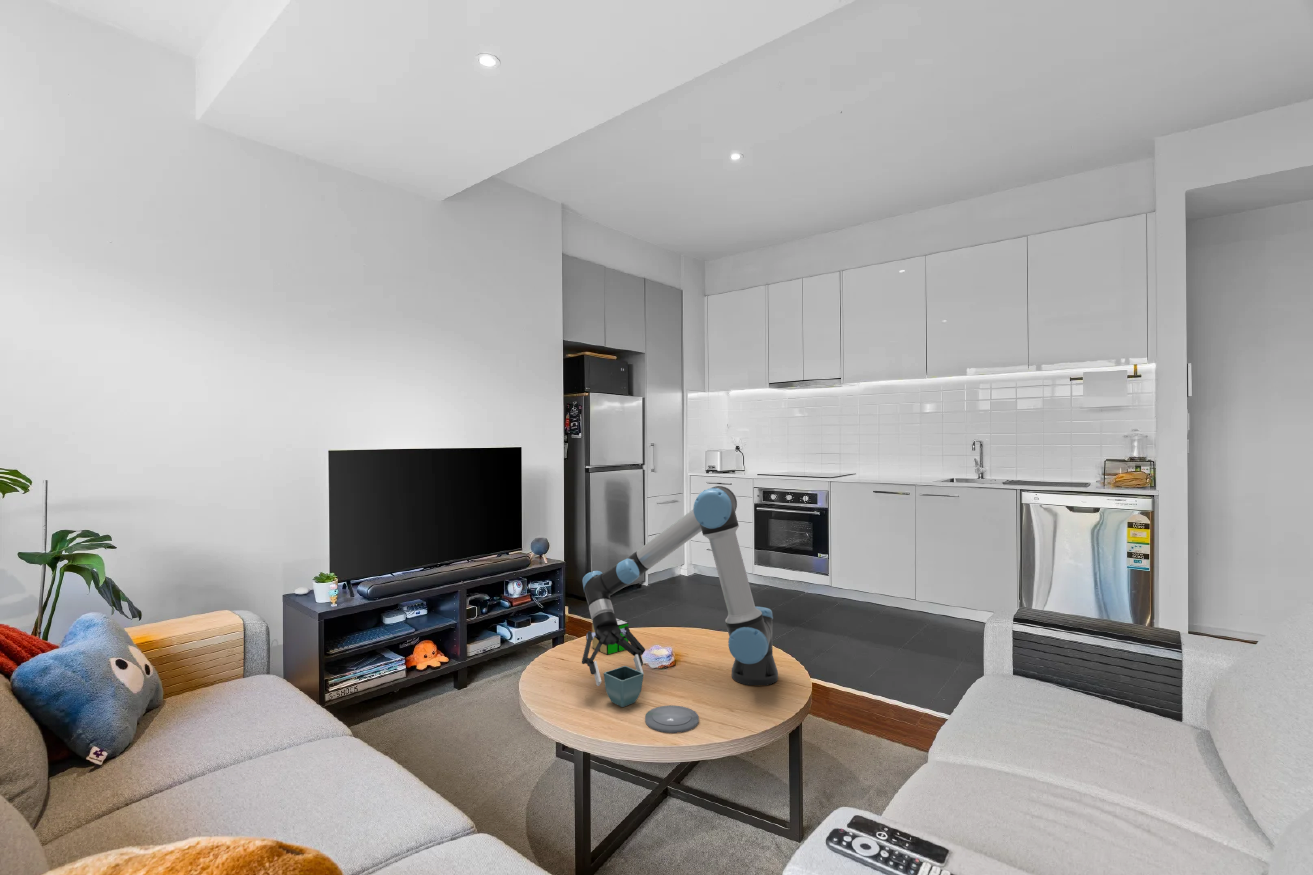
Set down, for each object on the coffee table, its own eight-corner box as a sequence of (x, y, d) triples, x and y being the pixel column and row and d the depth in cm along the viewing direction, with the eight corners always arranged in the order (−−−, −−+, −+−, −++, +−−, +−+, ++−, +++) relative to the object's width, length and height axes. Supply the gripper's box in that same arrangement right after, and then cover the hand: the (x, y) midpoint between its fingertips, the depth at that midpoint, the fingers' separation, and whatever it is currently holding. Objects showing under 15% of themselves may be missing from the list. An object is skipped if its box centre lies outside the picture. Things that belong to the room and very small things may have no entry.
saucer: (701, 710, 180) (701, 706, 180) (695, 735, 166) (695, 730, 166) (650, 706, 183) (650, 702, 183) (640, 730, 168) (640, 725, 168)
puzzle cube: (613, 642, 241) (613, 616, 241) (629, 649, 234) (629, 622, 234) (591, 648, 235) (591, 621, 235) (607, 655, 227) (607, 627, 227)
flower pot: (644, 702, 186) (644, 672, 186) (622, 711, 180) (622, 680, 180) (624, 694, 192) (624, 665, 192) (602, 702, 186) (602, 672, 186)
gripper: (635, 618, 208) (654, 679, 194) (563, 627, 197) (577, 692, 184) (642, 606, 203) (662, 667, 190) (568, 615, 193) (583, 681, 179)
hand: (620, 680), depth 187 cm, fingers open, 13 cm apart
